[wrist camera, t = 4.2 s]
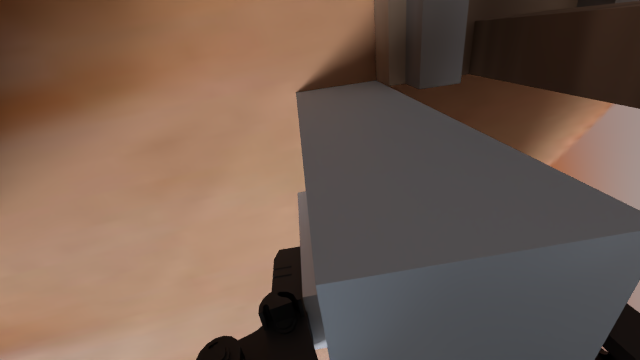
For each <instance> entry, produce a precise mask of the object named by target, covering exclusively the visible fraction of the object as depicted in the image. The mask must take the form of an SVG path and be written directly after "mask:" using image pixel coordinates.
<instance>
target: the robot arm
mask: <svg viewBox="0 0 640 360" xmlns="http://www.w3.org/2000/svg"><path fill="white" fill-rule="evenodd" d="M298 207H299V229H300V247H295V248H288V249H282V250H279V252H278V253H277V255H276V257H275V259H274V268H273V269H274V271H273V281H272V292H271V293H269V294H268V295H267V296H266V297H265V298H264V299H263V300H262V302H261V304H260V306H259V313H258V314H259V316H260V319H261V322H262V325H263V326H261V327H260V328H259V329H258V330H257V331H255V332H253V333H252V334H250V335H248V336H246V337H244V338H242V339H240V340H238V341H237V340H236V339H235V338H233V337H232V336H222V337H218V338H215V339H214V340H212V341H211V342H209V343H208V344H207V345H206V346H205V347H204V348H203V349H202V350H201V351H200V353H199V355H198V357H197V359H196V360H318V358H317V355H316V352H315V349H321V348H327V342H326V337H325V332H324V327H323V322H322V316H321V311H320V306H319V301H318V296H317V291H316V285H315V275H314V265H313V255H312V246H311V236H310V226H309V216H308V206H307V196H306V191H305V192H299V193H298ZM603 347H604V348H605V349H606V350H607V351H608V352H606V351H604V350H603V349H602V348H601V349H600V351H599V353H598V354H597V356H596V358H595V360H640V313H639V312H638V311H636V310H635V309H634V308H632V307H631V306H629V305H628V304H627V303H626V305H625V307H624V309H623V310H622V312H621V314H620V316H619V317H618V319H617V321H616V323H615V324H614V326H613V328H612V330H611V332H610V333H609V335H608V337H607V339H606V340H605V342H604V344H603Z"/></svg>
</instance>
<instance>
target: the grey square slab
mask: <svg viewBox="0 0 640 360" xmlns="http://www.w3.org/2000/svg"><path fill="white" fill-rule="evenodd" d="M296 97H297V107H298V117H299V127H300V137H301V147H302V156H303V166H304V176H305V186H306V196H307V206H308V216H309V226H310V236H311V246H312V255H313V265H314V275H315V285H316V291H317V296H318V301H319V306H320V311H321V316H322V322H323V327H324V332H325V337H326V342H327V348H328V353H329V358H330V360H595V358H596V356H597V354H598V353H599V351H600V349H601V347H602V346H603V344H604V342H605V340H606V339H607V337H608V335H609V333H610V332H611V330H612V328H613V326H614V324H615V323H616V321H617V319H618V317H619V316H620V314H621V312H622V310H623V309H624V307H625V305H626V303H627V302H628V300H629V298H630V296H631V294H632V293H633V291H634V289H635V287H636V286H637V284H638V282H639V280H640V210H637V209H635V208H633V207H631V206H629V205H627V204H625V203H623V202H621V201H619V200H617V199H615V198H613V197H611V196H609V195H607V194H605V193H603V192H601V191H599V190H597V189H595V188H593V187H591V186H589V185H587V184H585V183H583V182H581V181H579V180H577V179H575V178H573V177H571V176H568V175H566V174H565V173H562V172H560V171H558V170H556V169H554V168H552V167H550V166H548V165H546V164H544V163H542V162H540V161H538V160H536V159H534V158H532V157H530V156H528V155H526V154H524V153H522V152H520V151H518V150H516V149H514V148H512V147H510V146H508V145H506V144H504V143H502V142H500V141H498V140H496V139H494V138H492V137H490V136H488V135H486V134H484V133H482V132H479V131H477V130H475V129H473V128H471V127H469V126H467V125H465V124H463V123H461V122H459V121H457V120H455V119H453V118H451V117H449V116H447V115H445V114H443V113H441V112H439V111H437V110H435V109H433V108H431V107H429V106H427V105H425V104H423V103H421V102H419V101H417V100H415V99H413V98H411V97H409V96H407V95H405V94H402V93H400V92H398V91H396V90H394V89H392V88H390V87H388V86H386V85H384V84H382V83H380V82H378V81H369V82H363V83H356V84H349V85H343V86H336V87H329V88H323V89H316V90H310V91H303V92H296Z"/></svg>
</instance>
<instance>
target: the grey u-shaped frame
mask: <svg viewBox="0 0 640 360" xmlns="http://www.w3.org/2000/svg"><path fill="white" fill-rule="evenodd" d="M374 17H375V49H376V80H378V81H380V82H382V83H384V84H386V85H388V86H392V85H399V84H408V85H410V86H413V87H415V88H418V89H425V88H431V87H438V86H444V85H451V84H458V83H461V75H465V74H471V75H476V76H481V77H486V78H491V79H496V80H501V81H506V82H511V83H516V84H521V85H525V86H530V87H535V88H540V89H545V90H550V91H555V92H560V93H565V94H570V95H575V96H580V97H585V98H590V99H595V100H599V101H604V102H609V103H614V104H619V105H625V106H629V107H634V108H639V109H640V0H374Z"/></svg>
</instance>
